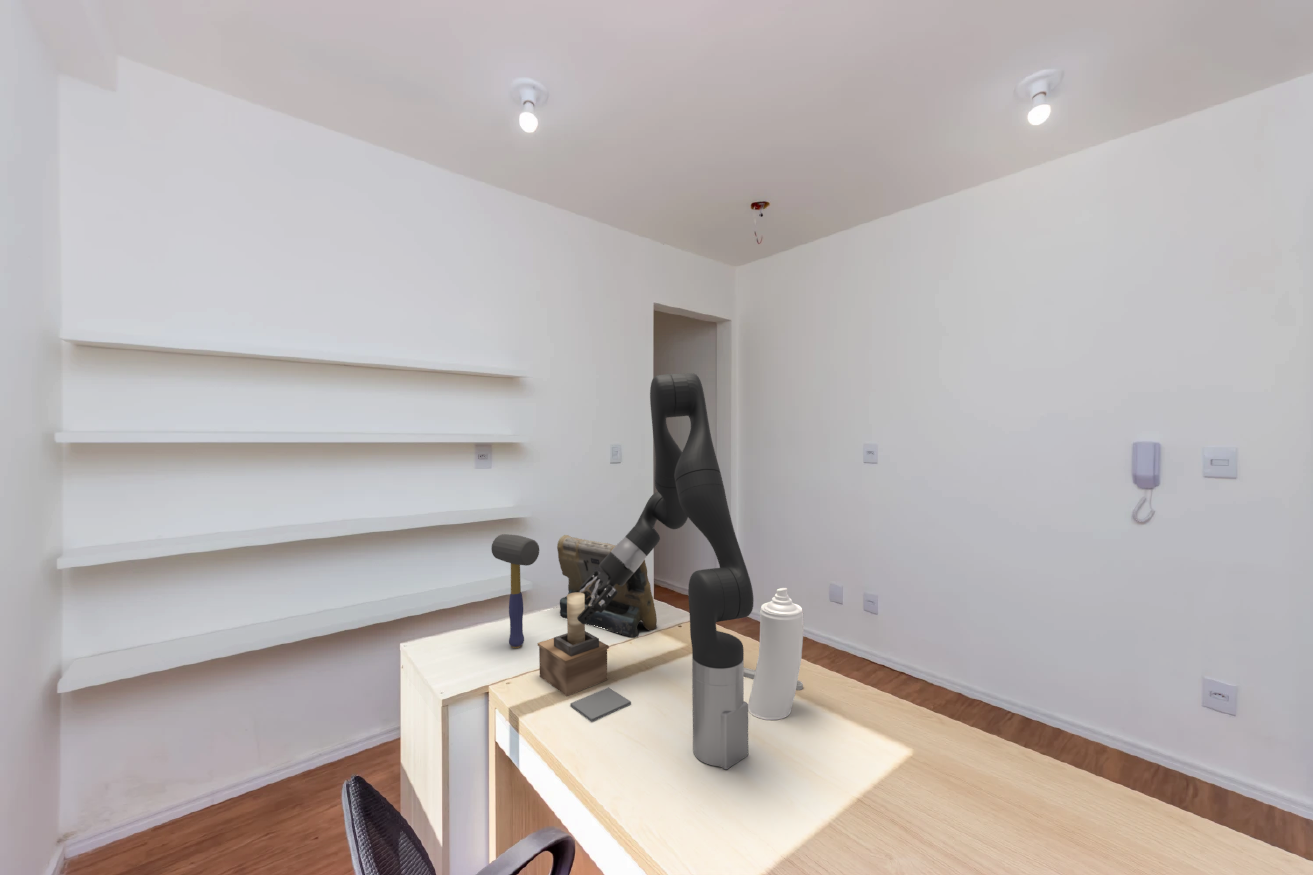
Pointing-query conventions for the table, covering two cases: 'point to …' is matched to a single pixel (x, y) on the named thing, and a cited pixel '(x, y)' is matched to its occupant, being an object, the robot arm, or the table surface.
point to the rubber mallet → (515, 576)
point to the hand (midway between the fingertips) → (576, 615)
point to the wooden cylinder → (575, 617)
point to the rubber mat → (600, 704)
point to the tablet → (631, 597)
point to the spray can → (777, 658)
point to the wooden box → (573, 663)
